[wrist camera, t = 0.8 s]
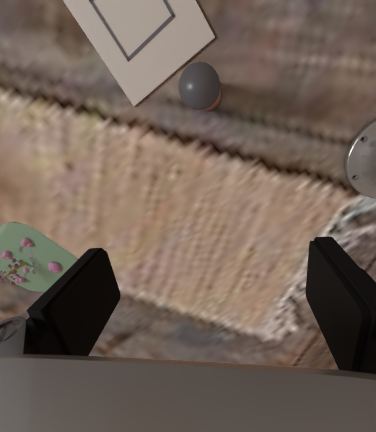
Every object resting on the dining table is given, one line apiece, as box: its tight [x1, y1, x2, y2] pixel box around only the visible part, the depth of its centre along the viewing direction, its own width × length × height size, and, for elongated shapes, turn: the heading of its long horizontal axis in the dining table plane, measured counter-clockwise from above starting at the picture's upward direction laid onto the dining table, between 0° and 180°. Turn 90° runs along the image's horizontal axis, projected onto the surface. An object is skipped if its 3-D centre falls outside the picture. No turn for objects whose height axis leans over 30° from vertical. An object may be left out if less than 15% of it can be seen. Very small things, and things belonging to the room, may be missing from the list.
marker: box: [179, 62, 222, 111], centre depth 28 cm, size 4×4×12 cm
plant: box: [0, 222, 78, 291], centre depth 50 cm, size 25×21×9 cm
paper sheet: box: [63, 0, 215, 106], centre depth 31 cm, size 15×19×1 cm
